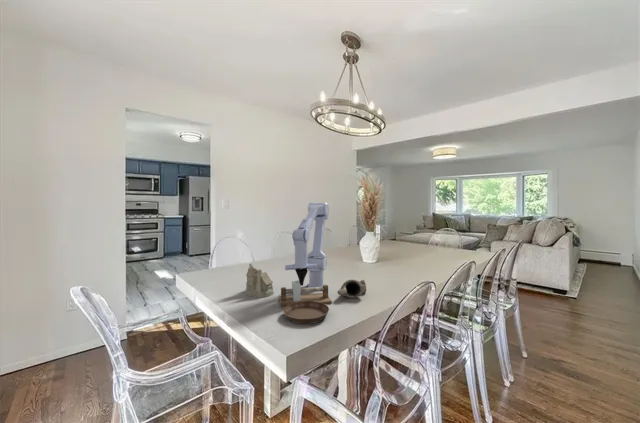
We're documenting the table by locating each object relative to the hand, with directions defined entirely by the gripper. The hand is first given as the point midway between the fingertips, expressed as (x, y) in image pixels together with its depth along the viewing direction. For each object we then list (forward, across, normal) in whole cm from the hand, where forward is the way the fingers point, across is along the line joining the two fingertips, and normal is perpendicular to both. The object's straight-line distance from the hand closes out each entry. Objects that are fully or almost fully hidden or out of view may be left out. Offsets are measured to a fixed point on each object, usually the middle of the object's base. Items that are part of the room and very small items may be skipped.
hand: (301, 285), depth 130 cm
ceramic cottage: (+7, -18, +15) cm, 24 cm away
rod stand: (+6, +1, -3) cm, 7 cm away
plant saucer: (+7, -1, -20) cm, 21 cm away
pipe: (+7, +25, 0) cm, 26 cm away
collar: (+5, -3, -3) cm, 6 cm away
